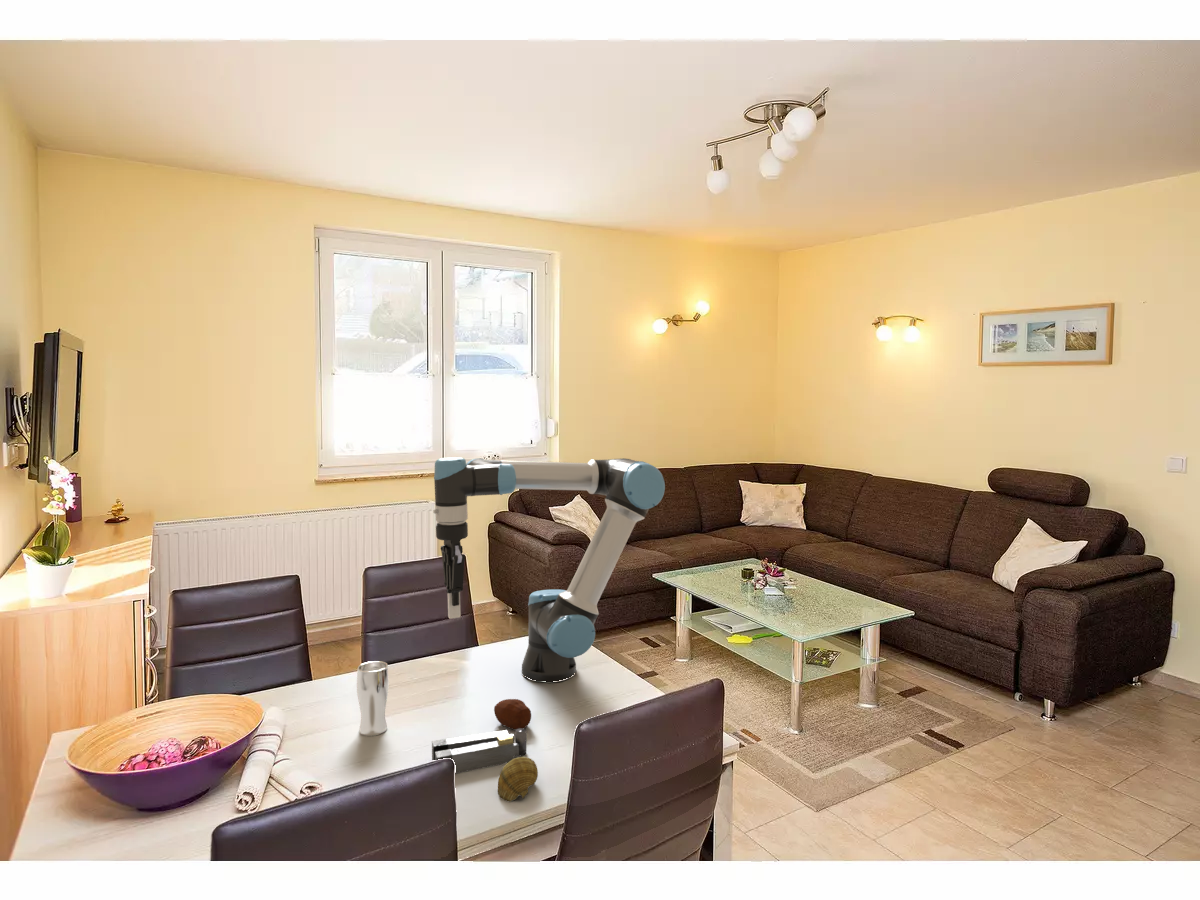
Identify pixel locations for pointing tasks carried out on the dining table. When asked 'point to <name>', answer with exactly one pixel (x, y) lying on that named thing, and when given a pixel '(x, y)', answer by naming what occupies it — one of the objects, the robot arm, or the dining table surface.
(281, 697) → the dining table surface
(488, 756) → the tongs base
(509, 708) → the potato
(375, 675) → the beer glass
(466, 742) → the tong jaw
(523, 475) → the robot arm
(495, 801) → the dining table surface
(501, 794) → the seashell
